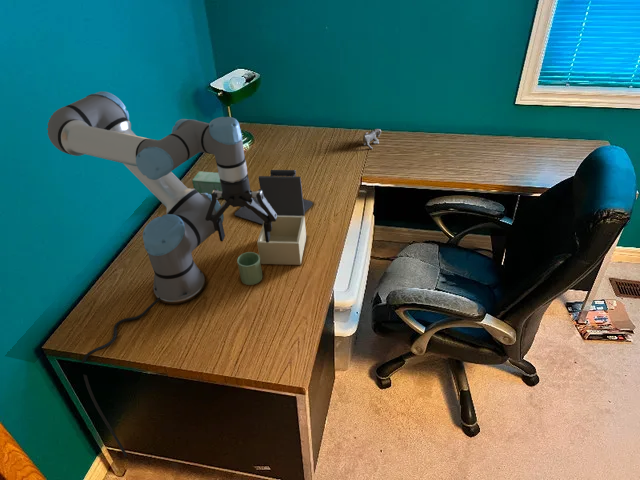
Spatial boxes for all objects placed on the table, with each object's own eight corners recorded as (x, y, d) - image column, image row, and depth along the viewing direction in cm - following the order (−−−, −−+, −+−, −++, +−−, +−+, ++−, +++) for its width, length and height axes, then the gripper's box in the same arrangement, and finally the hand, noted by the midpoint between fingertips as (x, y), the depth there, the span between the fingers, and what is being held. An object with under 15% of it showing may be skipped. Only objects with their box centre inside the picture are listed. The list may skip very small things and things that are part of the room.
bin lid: (300, 178, 149) (302, 163, 154) (258, 177, 150) (262, 163, 155) (304, 215, 160) (306, 200, 165) (265, 214, 161) (268, 200, 166)
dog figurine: (369, 151, 212) (369, 135, 208) (359, 147, 215) (359, 131, 211) (385, 140, 219) (386, 125, 215) (375, 137, 222) (375, 122, 218)
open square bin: (300, 265, 154) (298, 243, 149) (260, 263, 156) (256, 242, 150) (306, 237, 166) (304, 216, 160) (268, 236, 167) (265, 215, 162)
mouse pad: (314, 202, 182) (314, 202, 182) (284, 232, 168) (284, 231, 168) (264, 188, 191) (264, 187, 191) (232, 214, 178) (232, 214, 178)
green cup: (257, 286, 147) (254, 268, 143) (237, 283, 149) (233, 264, 144) (265, 271, 152) (263, 253, 148) (245, 268, 154) (242, 250, 149)
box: (228, 198, 187) (224, 182, 182) (195, 196, 189) (191, 180, 185) (234, 188, 193) (231, 172, 188) (202, 187, 195) (198, 170, 190)
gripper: (282, 168, 130) (289, 232, 143) (192, 168, 133) (207, 230, 146) (277, 183, 124) (285, 248, 137) (183, 182, 127) (200, 246, 140)
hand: (245, 239), depth 141 cm, fingers open, 13 cm apart
